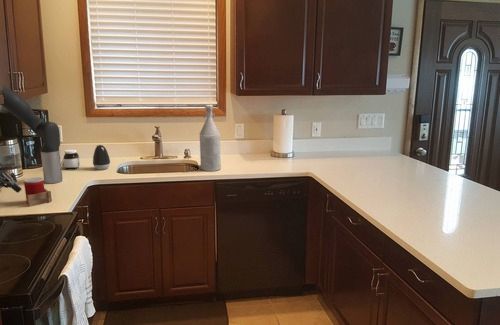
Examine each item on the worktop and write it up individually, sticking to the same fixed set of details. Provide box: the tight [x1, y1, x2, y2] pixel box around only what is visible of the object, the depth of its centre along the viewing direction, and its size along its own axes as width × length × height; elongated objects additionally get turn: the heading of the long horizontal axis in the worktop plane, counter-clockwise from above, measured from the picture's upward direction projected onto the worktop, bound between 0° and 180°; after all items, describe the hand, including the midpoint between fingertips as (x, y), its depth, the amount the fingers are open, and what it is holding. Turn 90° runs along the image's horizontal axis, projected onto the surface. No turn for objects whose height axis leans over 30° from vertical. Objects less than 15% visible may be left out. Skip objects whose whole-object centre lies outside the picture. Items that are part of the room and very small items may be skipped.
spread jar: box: [60, 149, 81, 170], centre depth 259 cm, size 12×11×12 cm
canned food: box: [23, 176, 45, 204], centre depth 192 cm, size 8×8×11 cm
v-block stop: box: [27, 187, 53, 207], centre depth 193 cm, size 13×7×5 cm, turn 179°
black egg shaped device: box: [92, 144, 111, 171], centre depth 256 cm, size 10×10×15 cm
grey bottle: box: [199, 104, 222, 172], centre depth 254 cm, size 13×17×40 cm
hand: (19, 191), depth 192 cm, fingers closed
